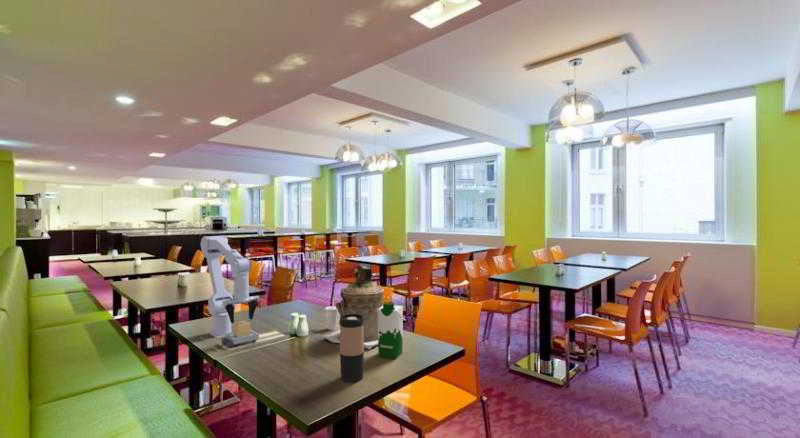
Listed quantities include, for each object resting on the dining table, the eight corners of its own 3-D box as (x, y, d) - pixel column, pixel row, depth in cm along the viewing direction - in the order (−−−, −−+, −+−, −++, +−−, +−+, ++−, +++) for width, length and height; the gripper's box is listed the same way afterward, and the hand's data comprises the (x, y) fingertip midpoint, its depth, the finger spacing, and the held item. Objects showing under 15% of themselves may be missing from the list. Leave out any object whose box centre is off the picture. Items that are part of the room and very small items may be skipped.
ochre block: (233, 335, 162) (233, 323, 162) (245, 332, 165) (245, 320, 165) (238, 338, 158) (238, 325, 158) (250, 335, 162) (250, 323, 162)
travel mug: (340, 373, 131) (340, 314, 131) (363, 372, 132) (363, 313, 131) (339, 383, 124) (338, 320, 123) (363, 382, 124) (363, 319, 124)
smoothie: (336, 331, 177) (336, 300, 177) (323, 330, 179) (322, 299, 178) (341, 327, 184) (341, 297, 183) (328, 326, 185) (328, 296, 185)
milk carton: (375, 357, 146) (375, 303, 145) (384, 349, 154) (384, 298, 154) (397, 360, 143) (397, 305, 142) (405, 351, 151) (405, 300, 151)
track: (216, 343, 161) (216, 337, 161) (274, 330, 178) (274, 325, 178) (227, 351, 152) (227, 345, 152) (287, 337, 169) (287, 332, 169)
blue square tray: (225, 341, 162) (224, 333, 162) (249, 336, 169) (249, 328, 169) (234, 347, 155) (233, 339, 155) (258, 341, 162) (258, 333, 162)
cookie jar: (400, 334, 173) (400, 261, 173) (370, 351, 152) (369, 269, 151) (354, 326, 185) (354, 258, 185) (320, 341, 164) (319, 265, 163)
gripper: (226, 291, 154) (226, 326, 154) (262, 286, 164) (262, 319, 164) (220, 289, 159) (220, 322, 159) (255, 284, 169) (255, 316, 169)
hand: (241, 320), depth 162 cm, fingers open, 7 cm apart
